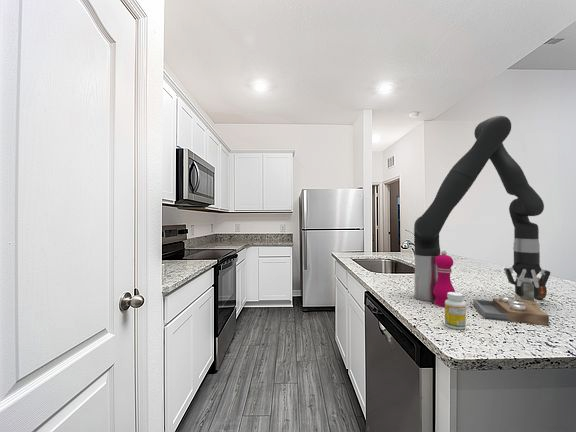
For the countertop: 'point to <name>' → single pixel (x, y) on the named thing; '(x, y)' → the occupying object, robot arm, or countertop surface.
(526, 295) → the scraper
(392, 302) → the countertop surface
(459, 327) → the supplement bottle
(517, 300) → the disc
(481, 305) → the tray
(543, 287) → the tin
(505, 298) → the disc
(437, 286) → the pepper mill
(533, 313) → the walnut board
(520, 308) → the disc
